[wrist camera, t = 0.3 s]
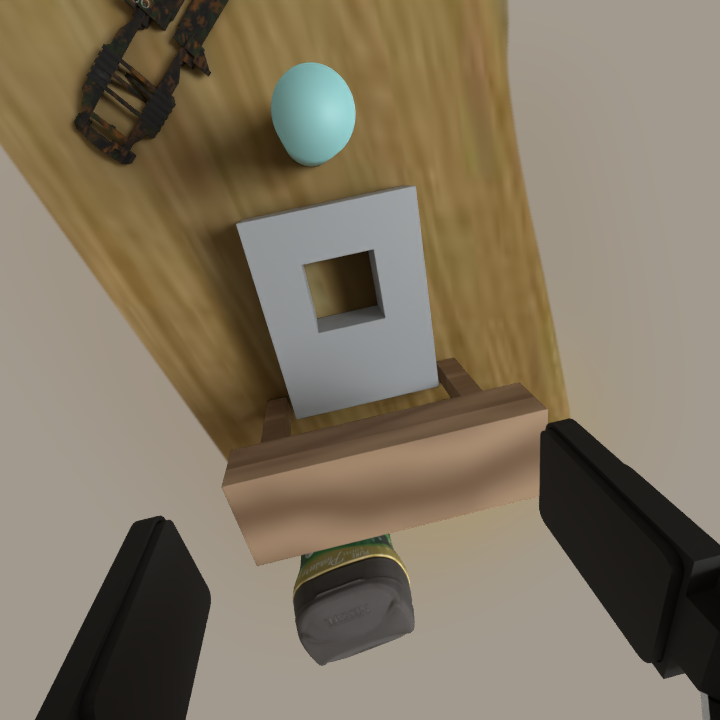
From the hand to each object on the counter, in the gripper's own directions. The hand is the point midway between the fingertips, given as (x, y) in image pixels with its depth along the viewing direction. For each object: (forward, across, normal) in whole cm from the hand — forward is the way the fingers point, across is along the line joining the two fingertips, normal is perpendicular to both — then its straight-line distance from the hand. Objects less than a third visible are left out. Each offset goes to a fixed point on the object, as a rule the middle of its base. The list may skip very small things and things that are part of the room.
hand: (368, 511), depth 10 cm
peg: (+29, -2, -11) cm, 31 cm away
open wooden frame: (+29, -2, +11) cm, 31 cm away
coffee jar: (+29, +3, +23) cm, 38 cm away
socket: (+29, -2, +3) cm, 29 cm away
